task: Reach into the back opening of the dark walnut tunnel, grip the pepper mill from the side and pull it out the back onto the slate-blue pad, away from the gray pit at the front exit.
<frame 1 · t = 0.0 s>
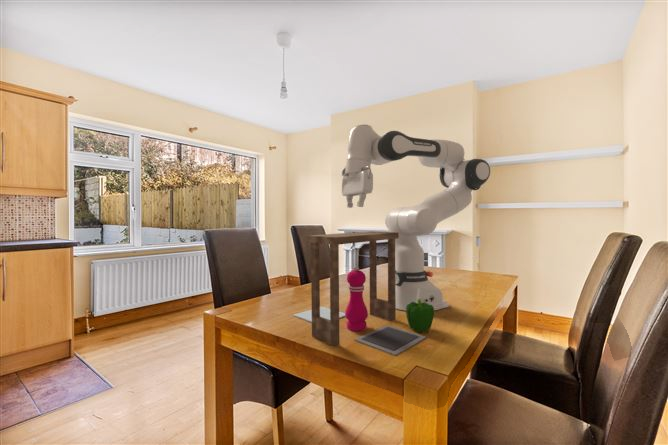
hand: (354, 207, 111), 39 cm above the table, tool pointing down, fingers open, 8 cm apart
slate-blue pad: (320, 315, 110), on the table
pepper mill: (356, 328, 97), on the table
bell pepper: (419, 330, 95), on the table
gray pit: (390, 339, 88), on the table
walnut tunnel: (356, 327, 97), on the table
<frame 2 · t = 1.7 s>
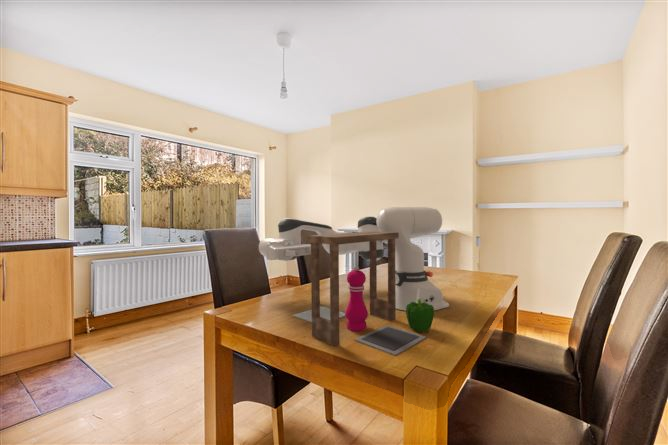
hand: (305, 252, 115), 22 cm above the table, tool horizontal, fingers open, 8 cm apart
nothing on the table moved.
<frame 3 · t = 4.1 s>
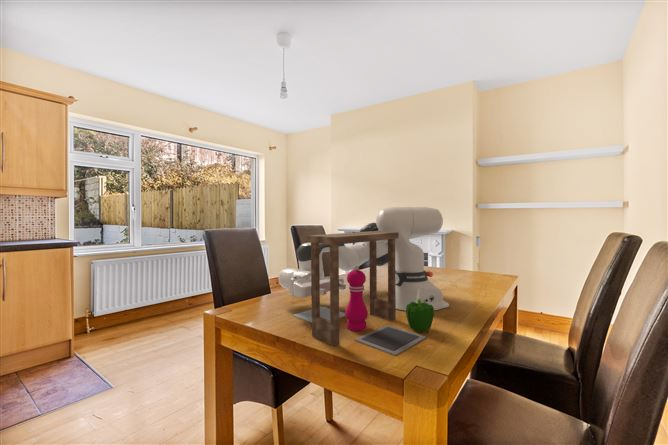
hand: (334, 289, 104), 11 cm above the table, tool horizontal, fingers open, 8 cm apart
nothing on the table moved.
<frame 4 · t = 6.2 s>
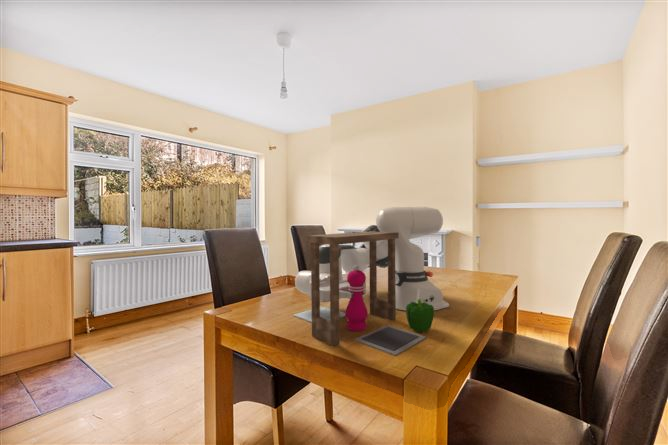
hand: (358, 293, 97), 11 cm above the table, tool horizontal, fingers closed on pepper mill, 5 cm apart
pepper mill: (356, 328, 97), on the table, touching gripper
everything else where it was.
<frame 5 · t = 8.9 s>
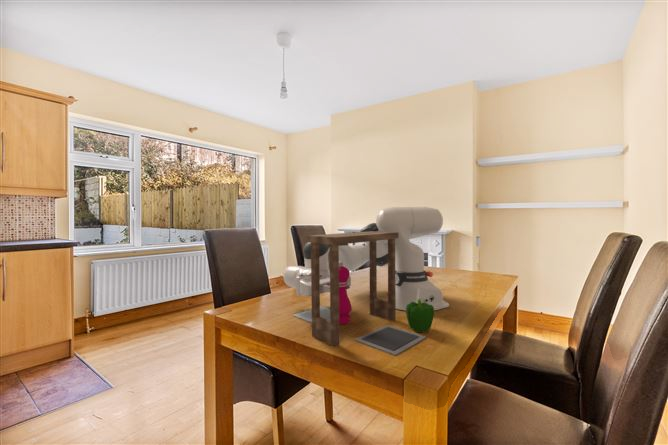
hand: (342, 288, 101), 12 cm above the table, tool horizontal, fingers closed on pepper mill, 5 cm apart
pepper mill: (340, 321, 102), on the table, touching gripper
everything else where it was.
when the fingers open (12 cm above the table, at t = 11.6 s): pepper mill moves 2 cm, resting on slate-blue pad.
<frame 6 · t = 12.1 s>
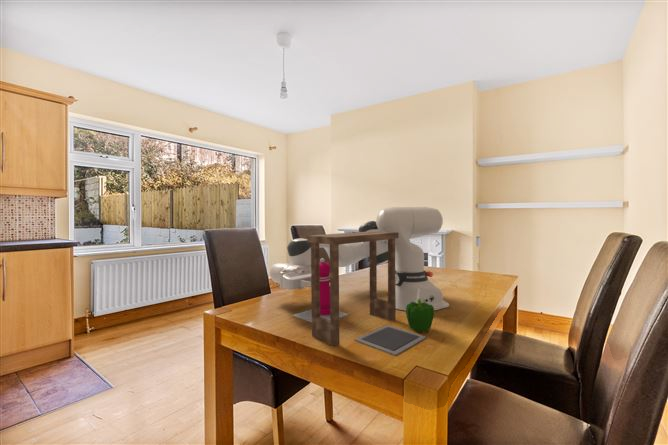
hand: (322, 282, 109), 12 cm above the table, tool horizontal, fingers open, 8 cm apart
pepper mill: (325, 312, 111), resting on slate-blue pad, touching gripper
everything else where it was.
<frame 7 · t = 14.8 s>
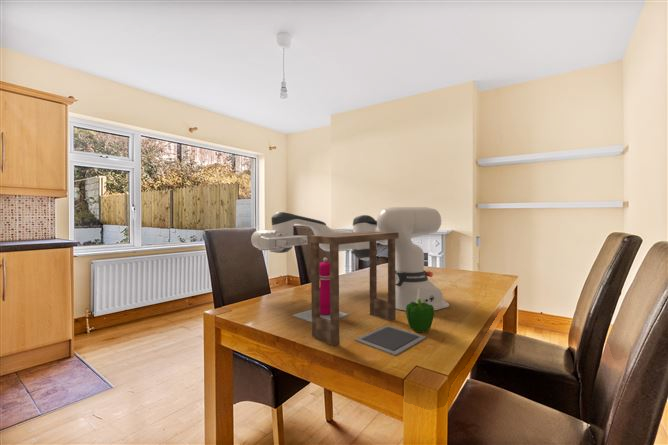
hand: (296, 242, 117), 26 cm above the table, tool horizontal, fingers open, 8 cm apart
pepper mill: (325, 312, 111), resting on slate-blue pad
everything else where it was.
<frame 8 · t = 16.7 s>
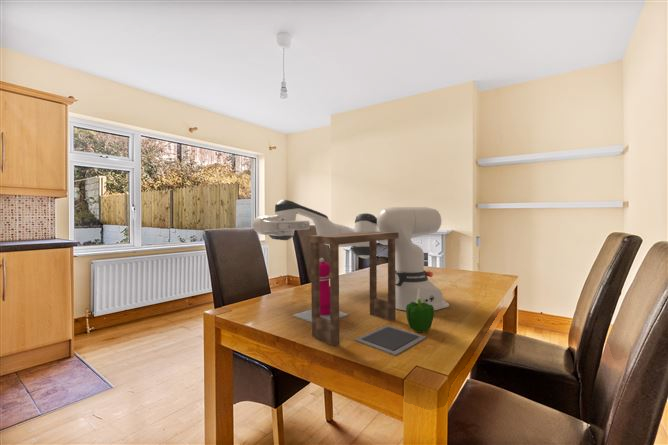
hand: (298, 226, 117), 32 cm above the table, tool horizontal, fingers open, 8 cm apart
at the end: pepper mill inside the target area (2.6 cm from its centre), resting on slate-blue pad; pepper mill tilted 4°; the gripper is holding nothing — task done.
